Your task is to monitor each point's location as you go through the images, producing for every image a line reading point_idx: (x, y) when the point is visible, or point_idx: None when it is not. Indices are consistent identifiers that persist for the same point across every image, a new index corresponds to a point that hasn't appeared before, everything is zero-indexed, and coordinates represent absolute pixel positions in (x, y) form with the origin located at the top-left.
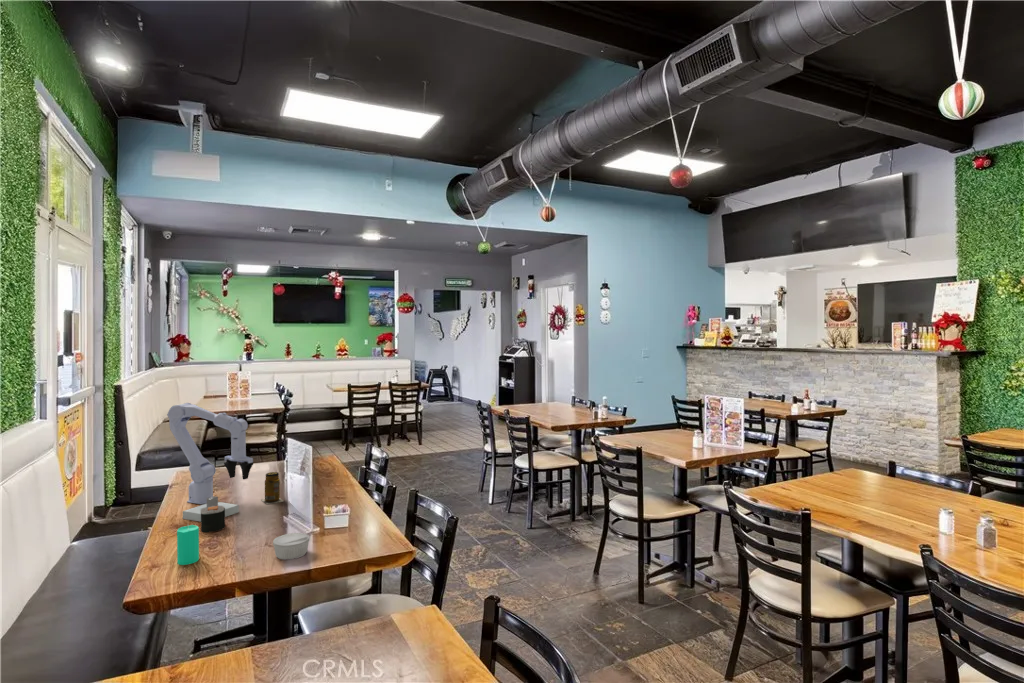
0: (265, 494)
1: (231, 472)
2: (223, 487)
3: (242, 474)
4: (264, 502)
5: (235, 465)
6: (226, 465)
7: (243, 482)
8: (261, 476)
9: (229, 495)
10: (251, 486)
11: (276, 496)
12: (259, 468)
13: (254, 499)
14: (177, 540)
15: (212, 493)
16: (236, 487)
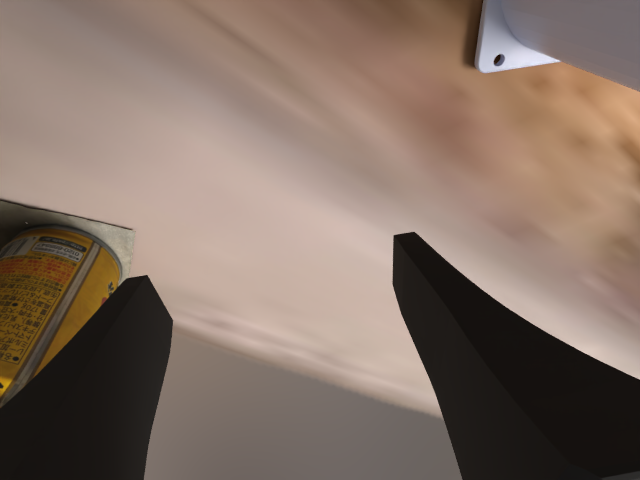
0: (28, 263)
1: (425, 306)
2: (634, 261)
3: (99, 332)
4: (24, 207)
5: (459, 457)
6: (579, 395)
7: (571, 344)
8: None
9: (469, 188)
10: None
11: None
12: None
13: (202, 219)
14: None
15: (540, 30)
16: (550, 293)
